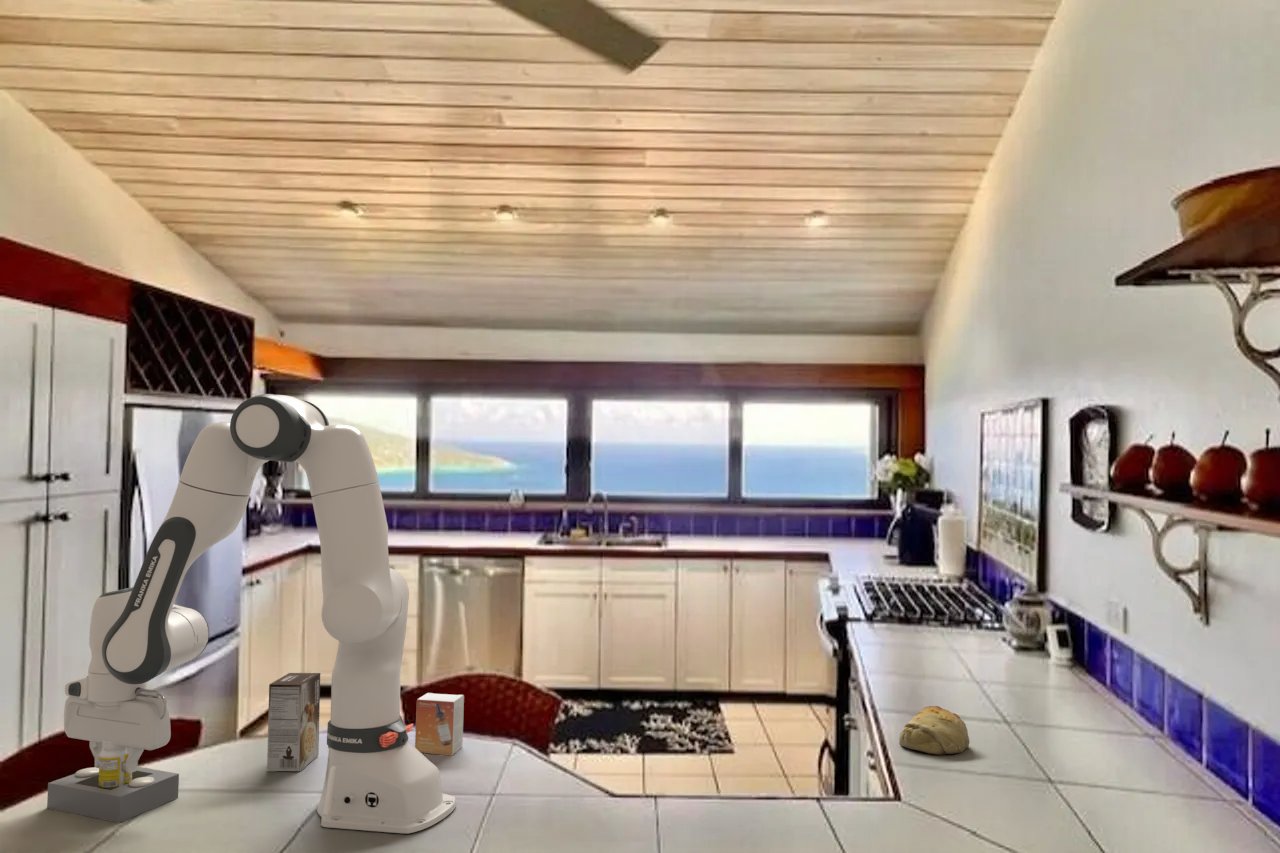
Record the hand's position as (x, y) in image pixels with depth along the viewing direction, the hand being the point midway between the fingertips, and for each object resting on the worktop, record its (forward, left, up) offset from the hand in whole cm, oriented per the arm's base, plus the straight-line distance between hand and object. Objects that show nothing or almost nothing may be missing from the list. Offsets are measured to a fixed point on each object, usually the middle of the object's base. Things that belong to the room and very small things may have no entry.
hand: (115, 769), depth 144 cm
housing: (0, 0, -5) cm, 5 cm away
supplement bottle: (0, 0, -3) cm, 3 cm away
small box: (-35, -43, -6) cm, 56 cm away
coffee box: (-14, -26, -6) cm, 30 cm away
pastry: (-128, -83, -6) cm, 152 cm away
